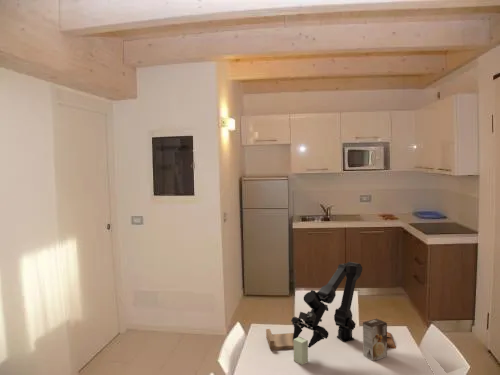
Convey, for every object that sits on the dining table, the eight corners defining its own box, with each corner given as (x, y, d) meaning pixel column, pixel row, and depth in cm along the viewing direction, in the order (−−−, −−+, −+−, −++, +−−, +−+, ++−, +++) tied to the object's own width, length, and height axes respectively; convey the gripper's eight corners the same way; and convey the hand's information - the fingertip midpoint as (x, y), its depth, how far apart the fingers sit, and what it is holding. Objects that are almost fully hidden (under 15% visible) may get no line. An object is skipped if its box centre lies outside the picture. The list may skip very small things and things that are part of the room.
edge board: (296, 335, 203) (296, 327, 203) (302, 347, 189) (302, 338, 189) (266, 337, 202) (266, 329, 202) (270, 350, 188) (270, 341, 188)
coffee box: (377, 351, 185) (377, 317, 184) (387, 356, 179) (387, 322, 178) (362, 355, 181) (362, 321, 180) (372, 361, 175) (372, 326, 174)
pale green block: (299, 357, 180) (299, 336, 179) (308, 361, 176) (307, 340, 176) (293, 360, 177) (293, 339, 177) (302, 364, 174) (301, 342, 173)
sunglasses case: (397, 348, 186) (390, 336, 187) (384, 355, 188) (376, 343, 188) (391, 333, 204) (384, 322, 204) (379, 339, 205) (372, 328, 206)
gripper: (293, 299, 186) (277, 328, 179) (324, 310, 172) (308, 342, 165) (304, 311, 192) (289, 340, 185) (335, 322, 177) (320, 354, 171)
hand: (300, 343), depth 176 cm, fingers open, 9 cm apart
